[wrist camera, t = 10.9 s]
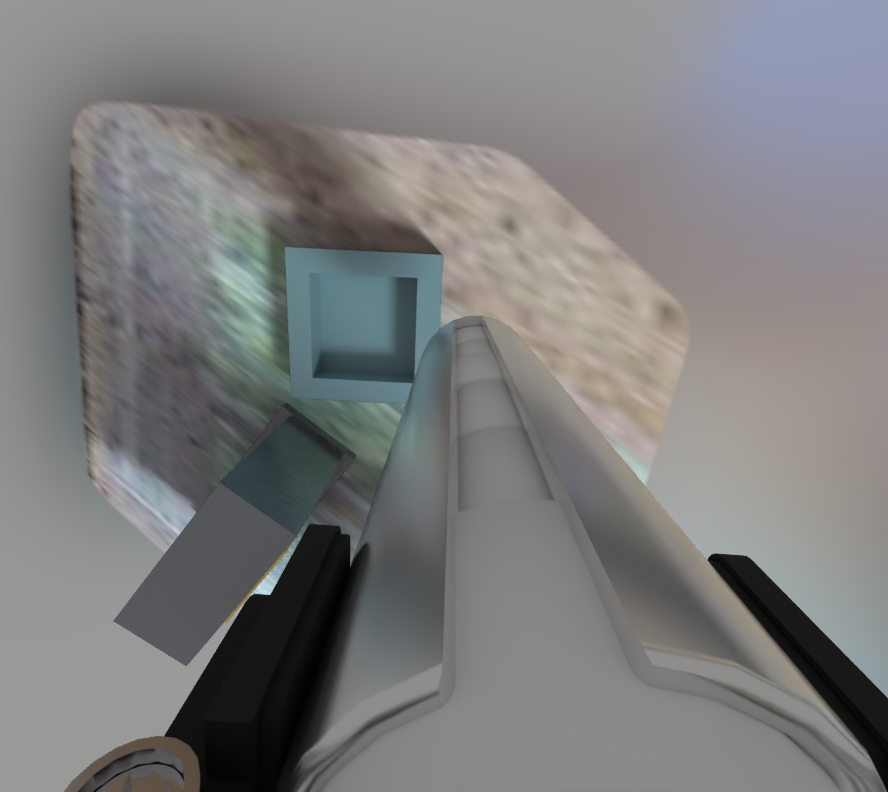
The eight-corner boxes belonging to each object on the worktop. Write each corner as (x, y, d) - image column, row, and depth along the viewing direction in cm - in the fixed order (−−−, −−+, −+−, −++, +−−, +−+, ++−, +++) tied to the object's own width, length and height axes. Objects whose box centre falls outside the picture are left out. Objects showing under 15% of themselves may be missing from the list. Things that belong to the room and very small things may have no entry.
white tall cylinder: (404, 401, 28) (133, 1175, 4) (443, 298, 27) (341, 653, 3) (505, 438, 29) (748, 1310, 5) (549, 339, 27) (1253, 944, 3)
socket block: (436, 394, 43) (435, 405, 39) (301, 386, 43) (288, 397, 40) (443, 255, 40) (441, 254, 36) (296, 248, 40) (282, 246, 36)
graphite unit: (356, 455, 45) (313, 540, 31) (267, 560, 48) (194, 677, 35) (286, 403, 43) (210, 467, 30) (200, 514, 47) (97, 617, 33)
